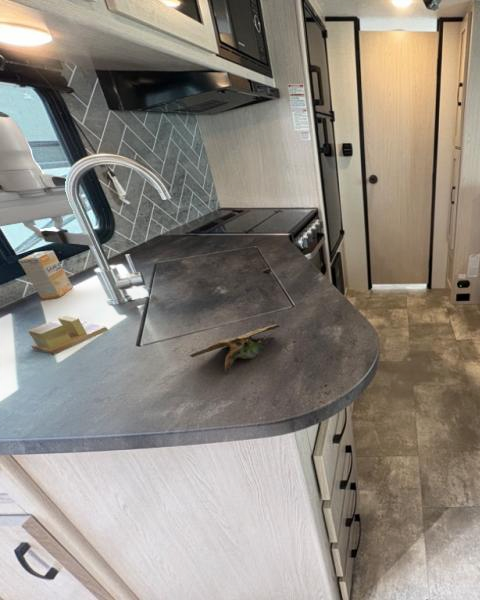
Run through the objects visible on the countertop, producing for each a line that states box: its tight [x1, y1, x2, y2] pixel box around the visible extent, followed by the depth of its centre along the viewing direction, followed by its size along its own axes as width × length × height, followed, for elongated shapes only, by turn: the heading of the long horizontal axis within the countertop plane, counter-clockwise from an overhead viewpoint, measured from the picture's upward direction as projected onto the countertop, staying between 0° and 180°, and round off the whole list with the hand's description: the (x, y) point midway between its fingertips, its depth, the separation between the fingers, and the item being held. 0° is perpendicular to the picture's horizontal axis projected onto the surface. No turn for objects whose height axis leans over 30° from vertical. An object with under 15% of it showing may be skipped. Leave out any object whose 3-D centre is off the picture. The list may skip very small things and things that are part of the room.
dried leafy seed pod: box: [188, 324, 280, 375], centre depth 67 cm, size 18×14×8 cm
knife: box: [39, 227, 94, 247], centre depth 84 cm, size 18×2×3 cm, turn 71°
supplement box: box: [18, 250, 73, 300], centre depth 97 cm, size 8×5×13 cm, turn 22°
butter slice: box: [58, 315, 86, 336], centre depth 76 cm, size 5×2×4 cm, turn 71°
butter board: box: [27, 321, 108, 356], centre depth 75 cm, size 8×11×5 cm
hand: (51, 235), depth 86 cm, fingers closed on knife, 2 cm apart
